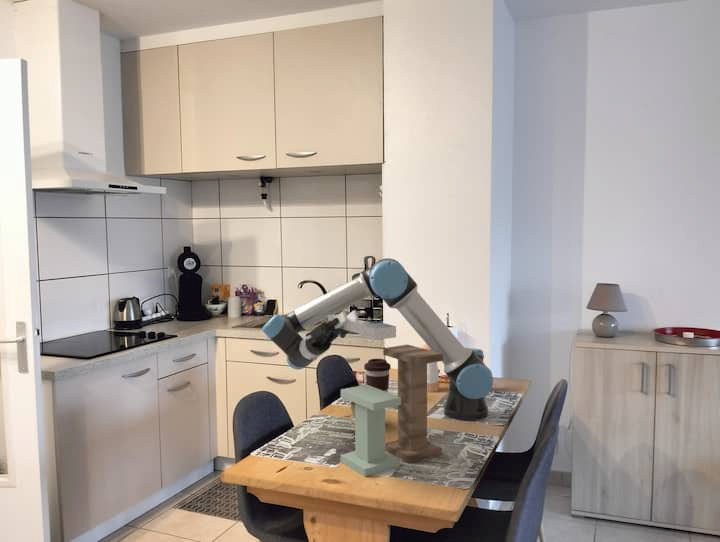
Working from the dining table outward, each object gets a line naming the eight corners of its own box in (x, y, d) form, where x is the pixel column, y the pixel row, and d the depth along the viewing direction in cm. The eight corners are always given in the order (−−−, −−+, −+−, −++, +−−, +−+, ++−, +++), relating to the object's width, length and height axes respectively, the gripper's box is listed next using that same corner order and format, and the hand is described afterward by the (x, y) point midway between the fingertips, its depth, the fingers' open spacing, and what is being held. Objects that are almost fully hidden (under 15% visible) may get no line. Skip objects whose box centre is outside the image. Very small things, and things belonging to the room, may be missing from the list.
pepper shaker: (425, 392, 238) (425, 344, 237) (418, 387, 245) (418, 341, 244) (442, 391, 240) (442, 343, 238) (435, 386, 247) (435, 340, 245)
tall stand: (379, 448, 180) (379, 348, 178) (411, 439, 187) (411, 343, 184) (413, 466, 167) (413, 358, 164) (446, 456, 174) (446, 353, 171)
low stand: (336, 459, 172) (336, 390, 170) (371, 450, 178) (371, 383, 177) (369, 479, 158) (368, 404, 157) (405, 468, 165) (405, 396, 164)
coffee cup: (389, 403, 224) (389, 363, 223) (362, 402, 226) (362, 363, 224) (391, 396, 234) (391, 357, 233) (366, 395, 235) (366, 357, 234)
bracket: (321, 325, 179) (321, 315, 179) (341, 323, 183) (341, 313, 183) (374, 340, 157) (374, 328, 157) (396, 337, 161) (396, 326, 161)
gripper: (340, 352, 194) (377, 324, 176) (295, 358, 185) (329, 330, 167) (334, 330, 196) (369, 300, 178) (289, 335, 187) (322, 305, 169)
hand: (350, 315), depth 173 cm, fingers closed on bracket, 3 cm apart
